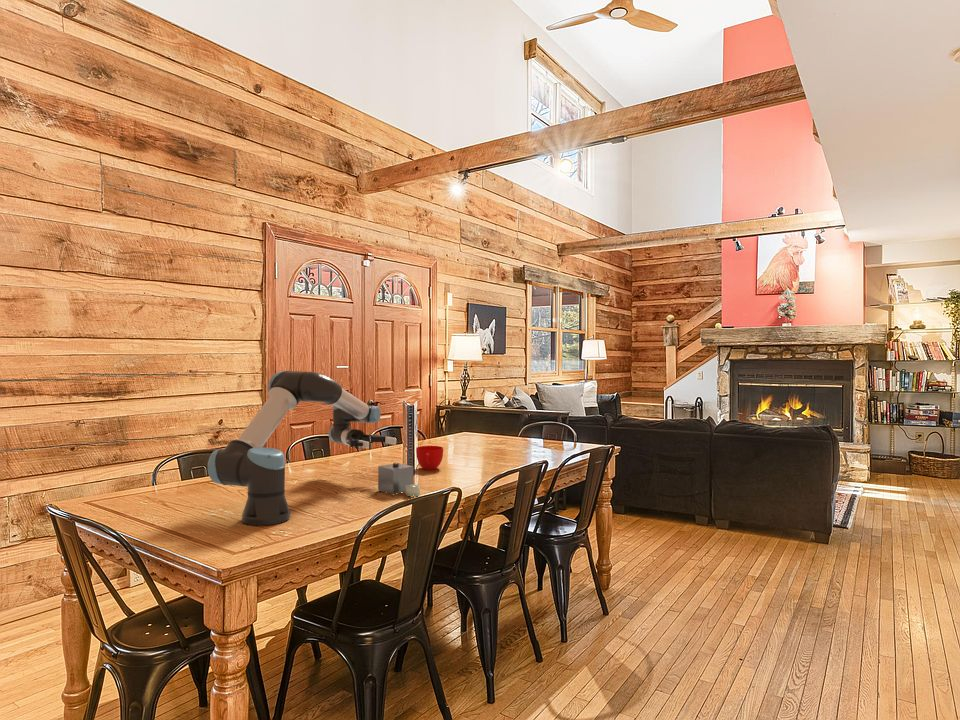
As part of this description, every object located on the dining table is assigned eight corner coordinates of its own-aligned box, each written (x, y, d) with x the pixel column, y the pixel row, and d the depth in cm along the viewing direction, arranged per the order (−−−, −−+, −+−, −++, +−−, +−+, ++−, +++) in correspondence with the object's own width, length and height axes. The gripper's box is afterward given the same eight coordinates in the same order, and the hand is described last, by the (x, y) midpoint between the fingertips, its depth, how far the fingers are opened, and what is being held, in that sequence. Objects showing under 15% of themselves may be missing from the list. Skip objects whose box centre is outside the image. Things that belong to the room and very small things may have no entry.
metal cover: (413, 491, 244) (413, 463, 244) (393, 495, 237) (393, 466, 237) (398, 487, 251) (398, 460, 251) (378, 490, 244) (378, 463, 244)
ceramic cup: (413, 472, 280) (413, 451, 280) (418, 465, 297) (418, 445, 297) (440, 473, 280) (441, 451, 279) (444, 466, 296) (444, 445, 296)
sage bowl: (421, 497, 235) (421, 486, 234) (408, 498, 232) (408, 488, 232) (417, 493, 240) (417, 483, 240) (403, 495, 237) (403, 485, 237)
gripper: (377, 442, 275) (406, 448, 260) (328, 449, 257) (356, 456, 242) (377, 426, 274) (406, 431, 259) (328, 431, 257) (356, 437, 242)
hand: (382, 443), depth 251 cm, fingers open, 13 cm apart
